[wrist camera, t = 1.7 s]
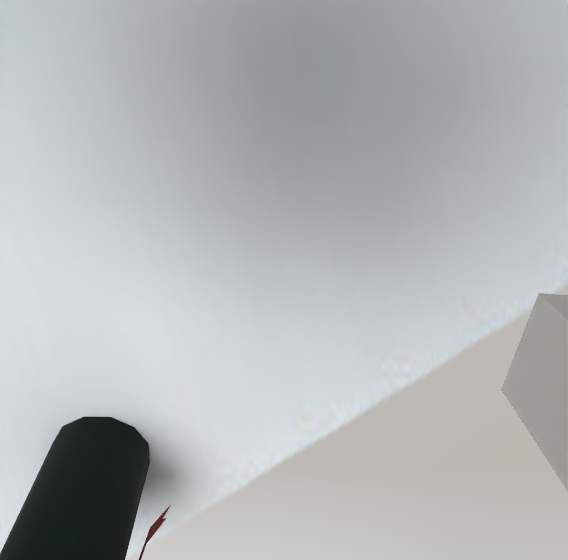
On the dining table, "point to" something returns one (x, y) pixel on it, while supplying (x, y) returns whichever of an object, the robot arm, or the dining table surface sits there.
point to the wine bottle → (84, 495)
